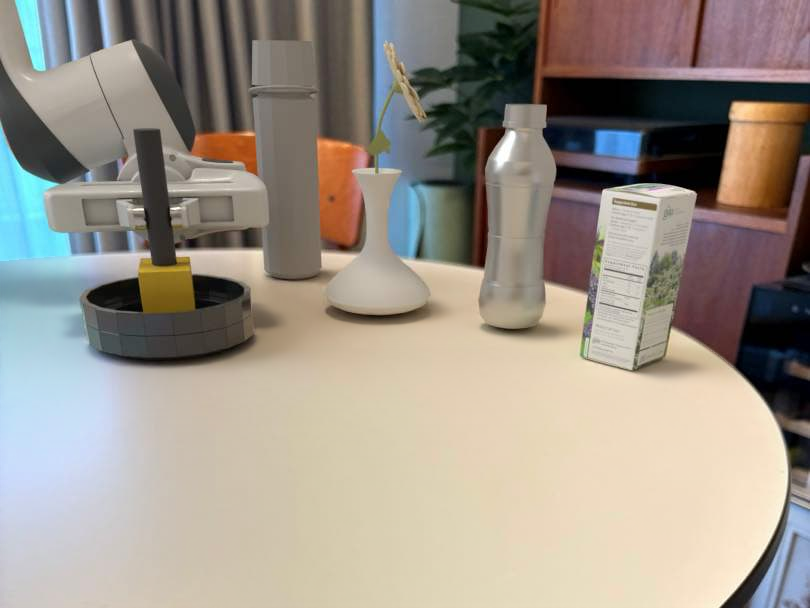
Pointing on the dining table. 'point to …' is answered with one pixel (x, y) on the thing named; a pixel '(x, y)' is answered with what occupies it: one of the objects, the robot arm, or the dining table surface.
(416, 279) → the flower in vase
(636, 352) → the syrup box
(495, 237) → the plastic bottle
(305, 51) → the water bottle
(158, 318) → the bowl
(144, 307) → the sponge wand
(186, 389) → the dining table surface
